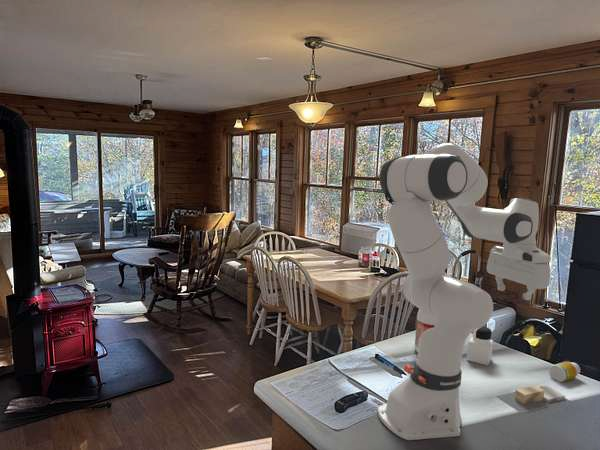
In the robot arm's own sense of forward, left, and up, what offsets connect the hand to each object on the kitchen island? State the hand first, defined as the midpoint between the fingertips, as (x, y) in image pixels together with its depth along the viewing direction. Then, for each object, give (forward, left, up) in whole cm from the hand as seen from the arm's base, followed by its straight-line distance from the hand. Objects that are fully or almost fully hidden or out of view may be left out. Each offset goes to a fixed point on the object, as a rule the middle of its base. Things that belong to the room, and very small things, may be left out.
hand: (513, 294), depth 129 cm
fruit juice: (-9, +26, -29) cm, 40 cm away
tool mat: (0, -11, -29) cm, 31 cm away
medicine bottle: (+5, +15, -29) cm, 33 cm away
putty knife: (+1, -11, -28) cm, 31 cm away
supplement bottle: (+17, -5, -26) cm, 32 cm away
